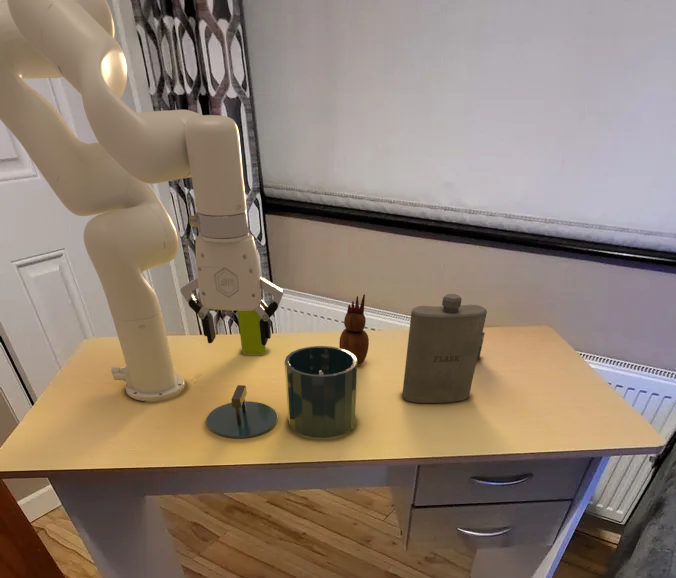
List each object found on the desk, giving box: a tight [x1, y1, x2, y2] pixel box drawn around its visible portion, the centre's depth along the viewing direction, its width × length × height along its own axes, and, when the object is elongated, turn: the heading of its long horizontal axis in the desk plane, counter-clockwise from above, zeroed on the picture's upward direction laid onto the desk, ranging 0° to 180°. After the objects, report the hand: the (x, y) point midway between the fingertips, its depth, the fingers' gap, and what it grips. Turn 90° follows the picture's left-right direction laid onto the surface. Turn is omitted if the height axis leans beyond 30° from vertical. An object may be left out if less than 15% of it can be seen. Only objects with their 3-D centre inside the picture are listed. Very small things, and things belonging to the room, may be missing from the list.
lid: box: [206, 384, 279, 440], centre depth 101 cm, size 14×14×6 cm
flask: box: [401, 293, 488, 404], centre depth 104 cm, size 15×6×20 cm, turn 96°
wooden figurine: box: [338, 293, 370, 366], centre depth 117 cm, size 7×6×15 cm
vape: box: [237, 310, 267, 356], centre depth 119 cm, size 4×6×20 cm, turn 88°
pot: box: [284, 345, 358, 439], centre depth 99 cm, size 13×13×12 cm
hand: (238, 341), depth 91 cm, fingers open, 9 cm apart
